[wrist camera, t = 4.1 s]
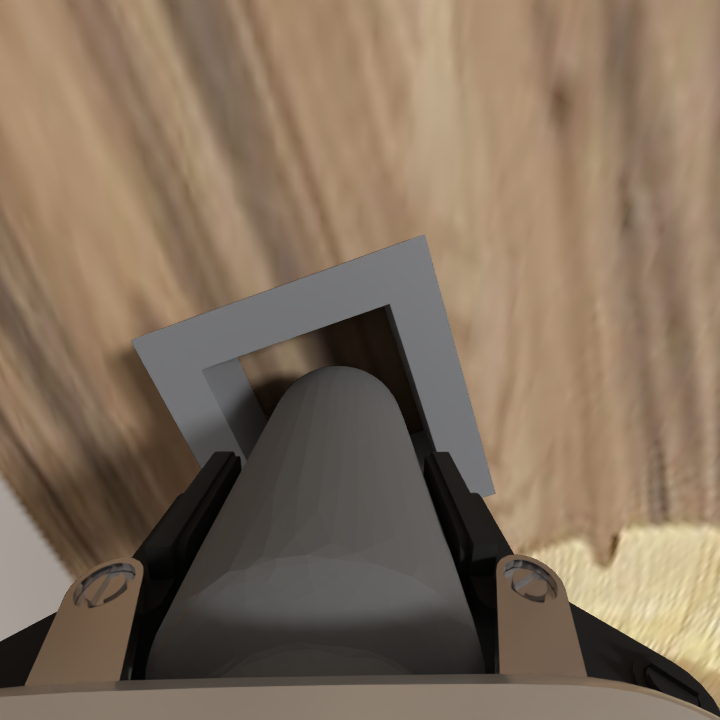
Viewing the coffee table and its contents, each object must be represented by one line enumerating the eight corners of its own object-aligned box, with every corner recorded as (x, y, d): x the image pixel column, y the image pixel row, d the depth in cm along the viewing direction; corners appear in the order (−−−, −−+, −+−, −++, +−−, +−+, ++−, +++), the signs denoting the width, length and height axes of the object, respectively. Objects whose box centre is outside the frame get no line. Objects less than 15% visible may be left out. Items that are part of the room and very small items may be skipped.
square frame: (466, 448, 20) (495, 493, 16) (272, 510, 21) (256, 568, 17) (406, 240, 17) (424, 234, 13) (178, 322, 17) (130, 340, 13)
